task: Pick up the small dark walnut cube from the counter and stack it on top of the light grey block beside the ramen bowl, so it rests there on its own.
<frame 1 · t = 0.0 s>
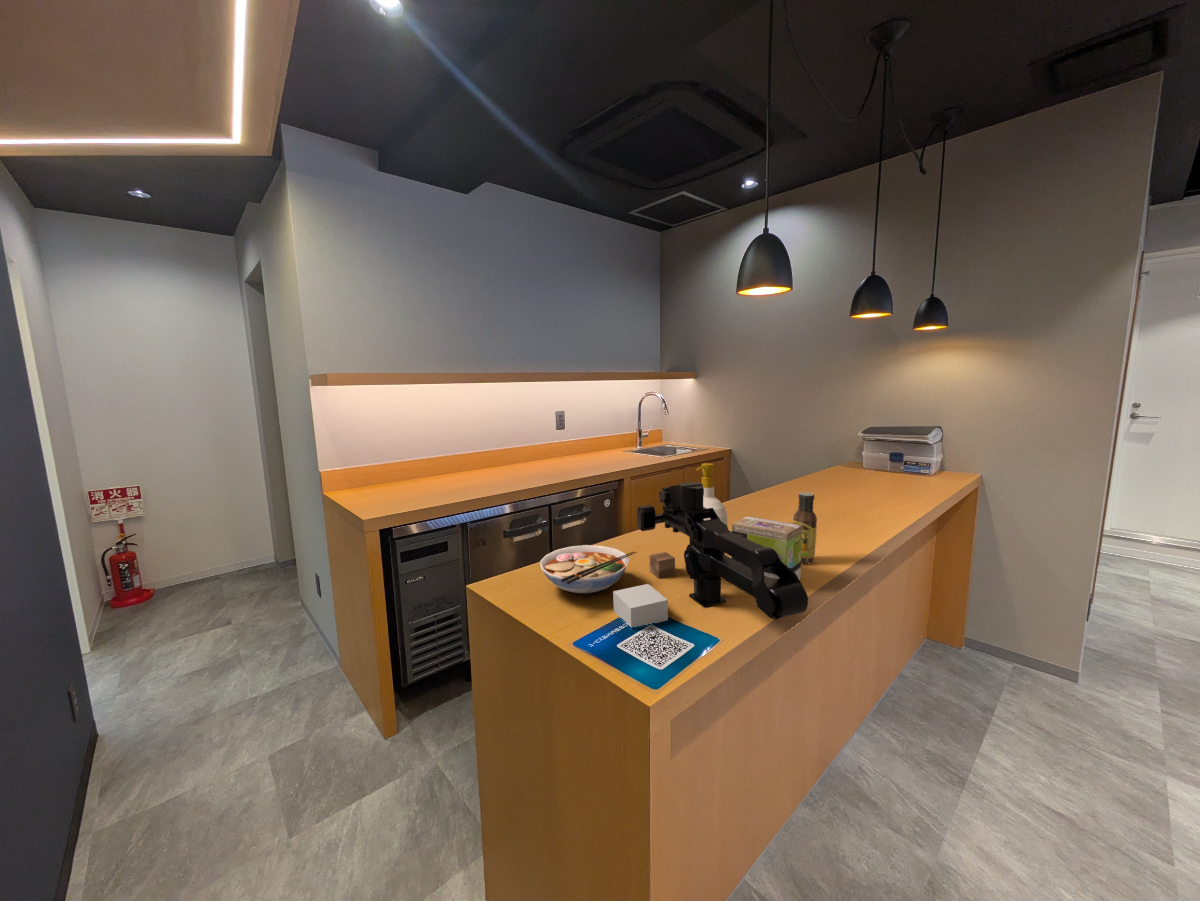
hand: (655, 507, 133), 17 cm above the table, tool horizontal, fingers open, 9 cm apart
sauce bottle: (802, 562, 133), on the table
soap bottle: (706, 544, 149), on the table
walnut cube: (662, 573, 128), on the table
tea box: (765, 578, 123), on the table
light grey block: (640, 616, 105), on the table
ramen bowl: (585, 588, 120), on the table
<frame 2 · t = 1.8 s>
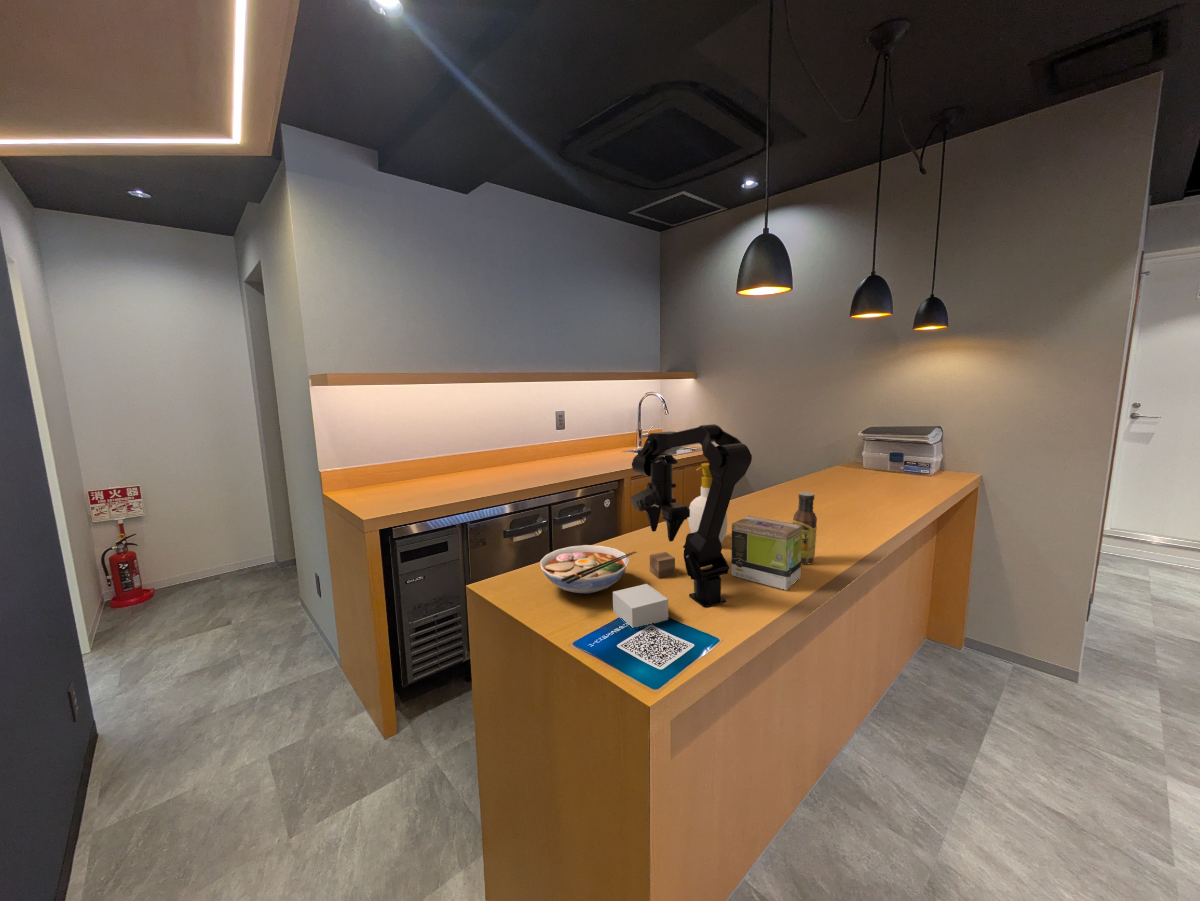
hand: (662, 536, 126), 11 cm above the table, tool pointing down, fingers open, 9 cm apart
nothing on the table moved.
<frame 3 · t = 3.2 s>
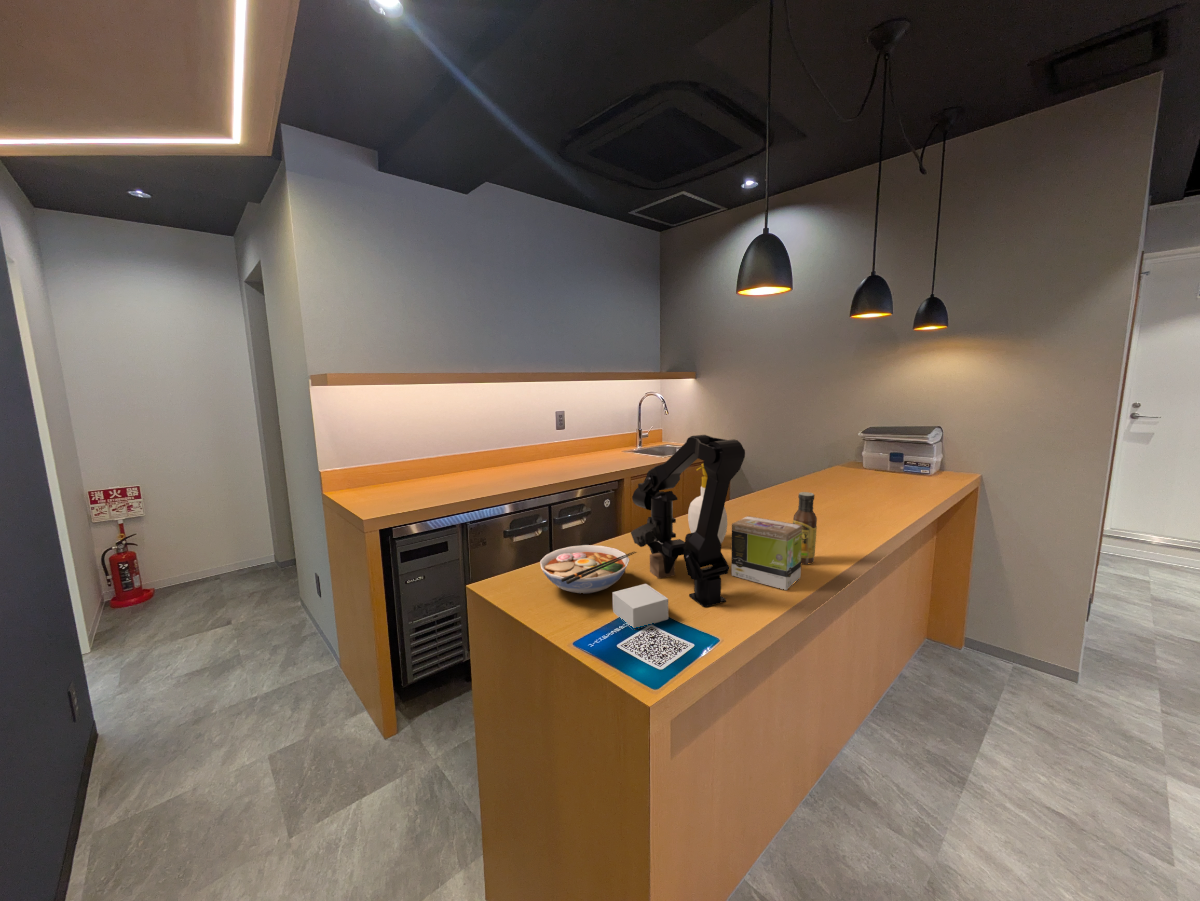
hand: (662, 569, 128), 1 cm above the table, tool pointing down, fingers closed on walnut cube, 5 cm apart
walnut cube: (662, 573, 128), on the table, touching gripper
everything else where it was.
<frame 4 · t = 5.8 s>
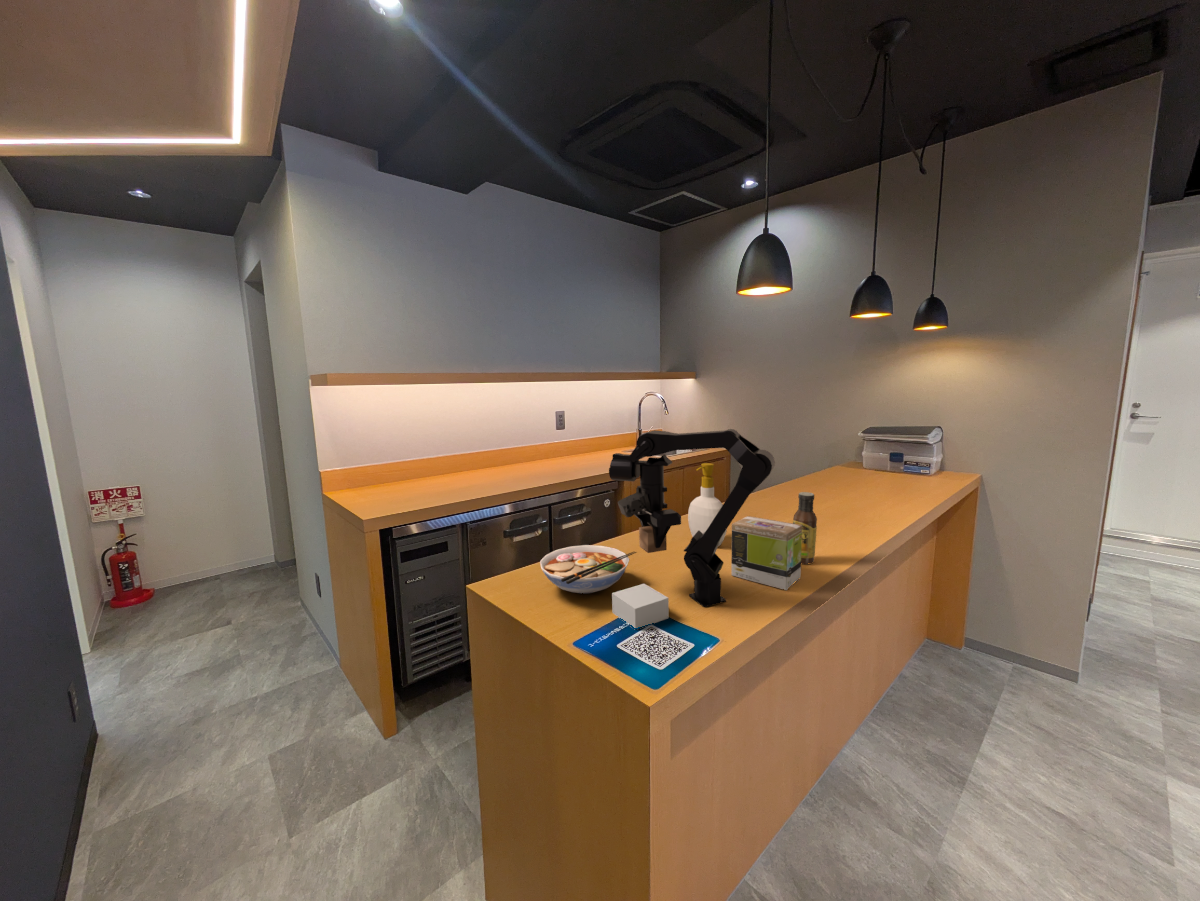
hand: (653, 544, 116), 12 cm above the table, tool pointing down, fingers closed on walnut cube, 5 cm apart
walnut cube: (652, 548, 116), point 11 cm above the table, touching gripper
everything else where it was.
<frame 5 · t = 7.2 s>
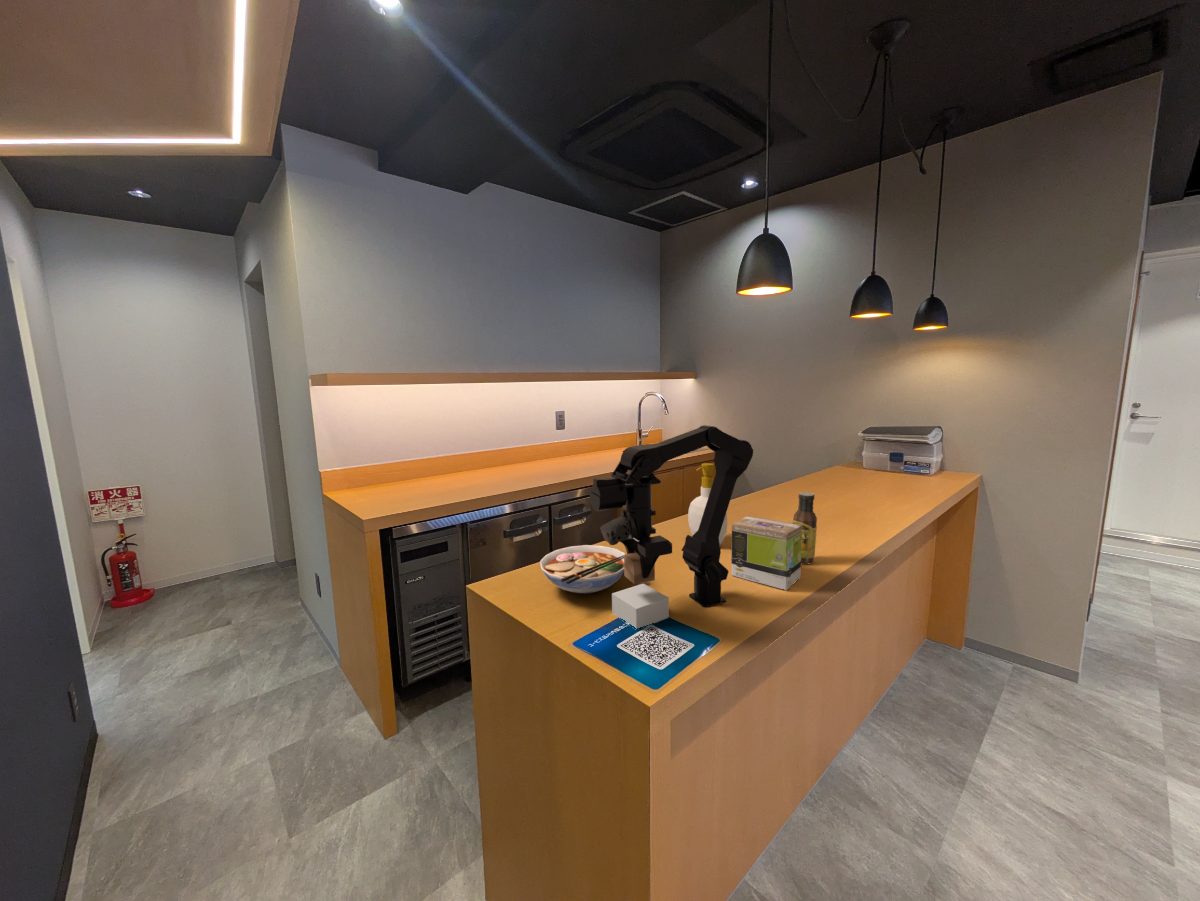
hand: (639, 573, 104), 10 cm above the table, tool pointing down, fingers closed on walnut cube, 5 cm apart
walnut cube: (639, 577, 104), point 9 cm above the table, touching gripper
everything else where it was.
when the fingers open (7 cm above the table, at t = 8.2 s): walnut cube drops 1 cm, resting on light grey block.
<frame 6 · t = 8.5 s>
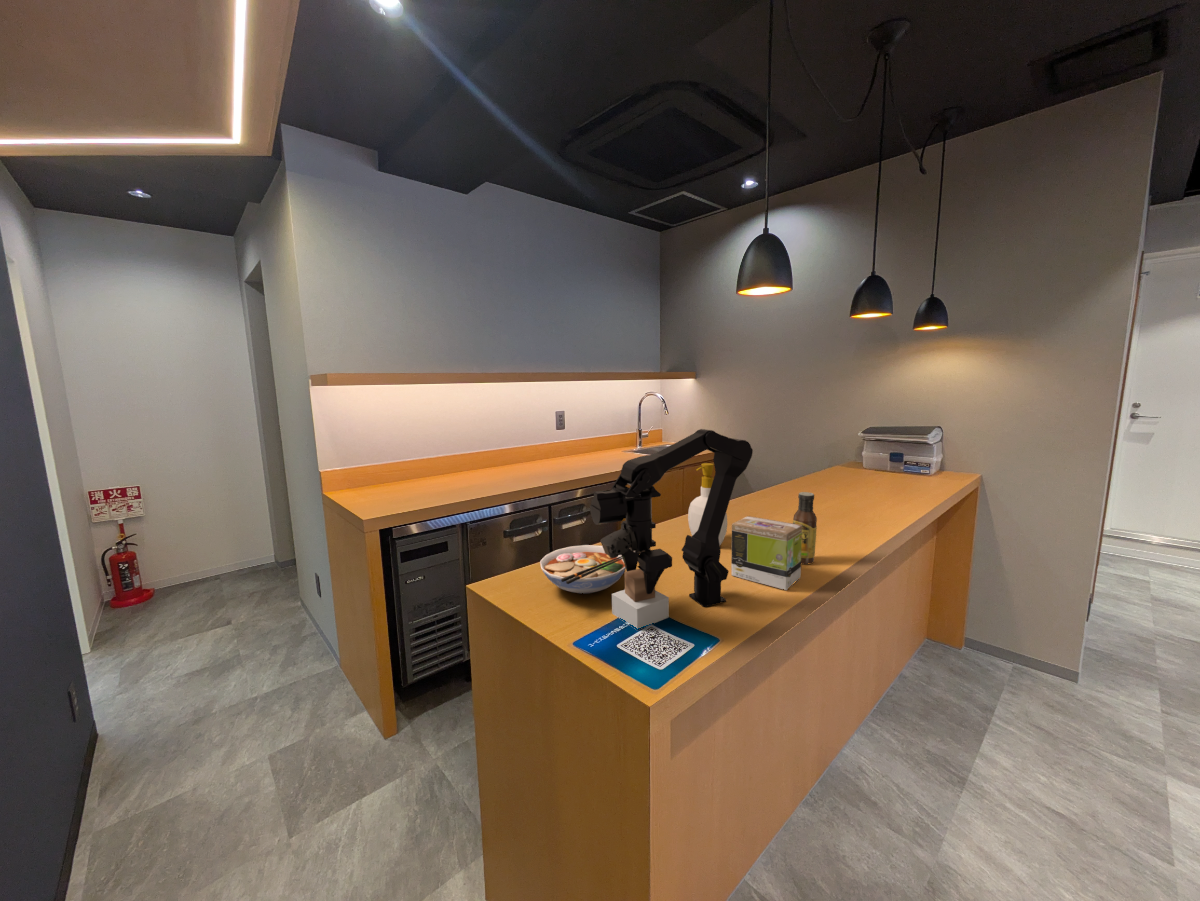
hand: (639, 585, 104), 7 cm above the table, tool pointing down, fingers open, 8 cm apart
walnut cube: (639, 595, 105), point 5 cm above the table, touching light grey block
light grey block: (640, 616, 105), on the table, touching walnut cube
everything else where it was.
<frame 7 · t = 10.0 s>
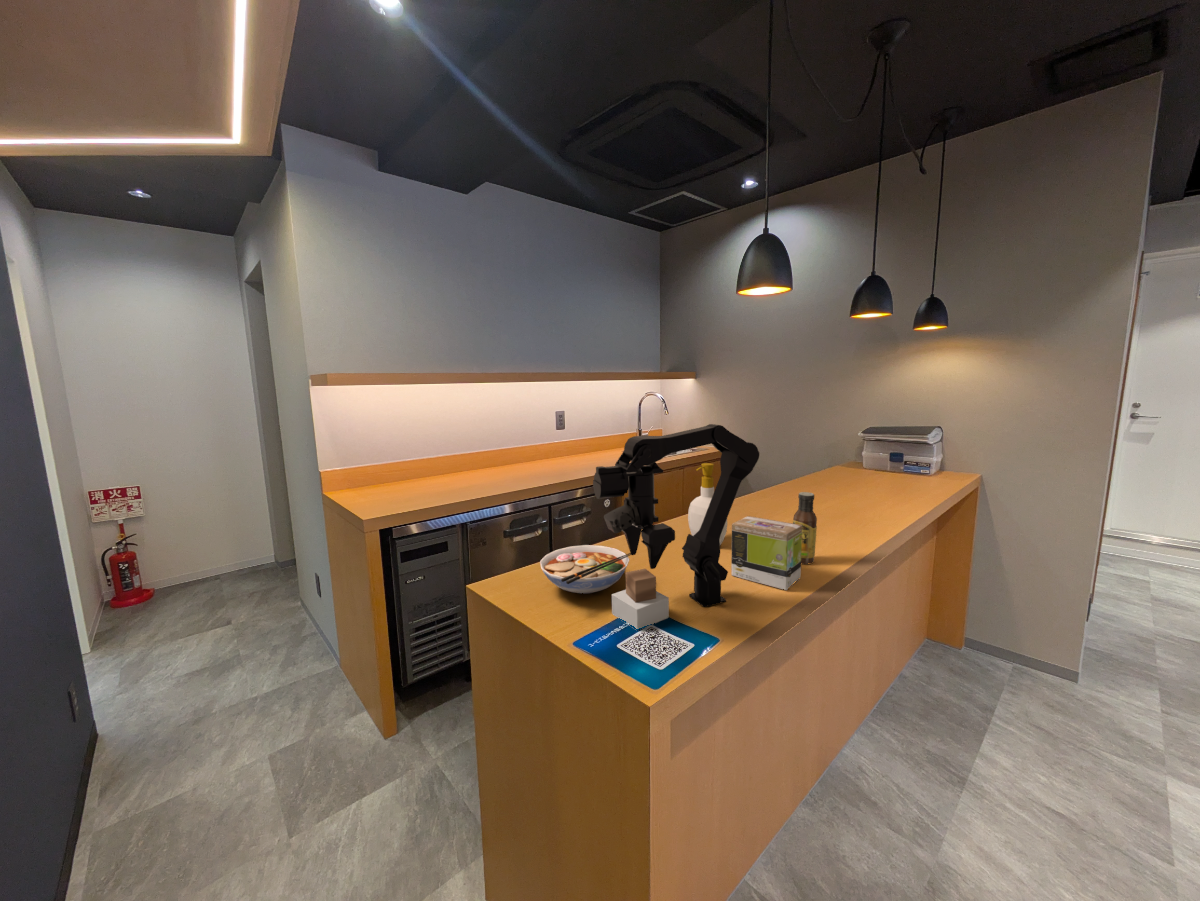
hand: (642, 561, 105), 12 cm above the table, tool pointing down, fingers open, 9 cm apart
walnut cube: (640, 595, 104), point 5 cm above the table
light grey block: (640, 616, 105), on the table
everything else where it was.
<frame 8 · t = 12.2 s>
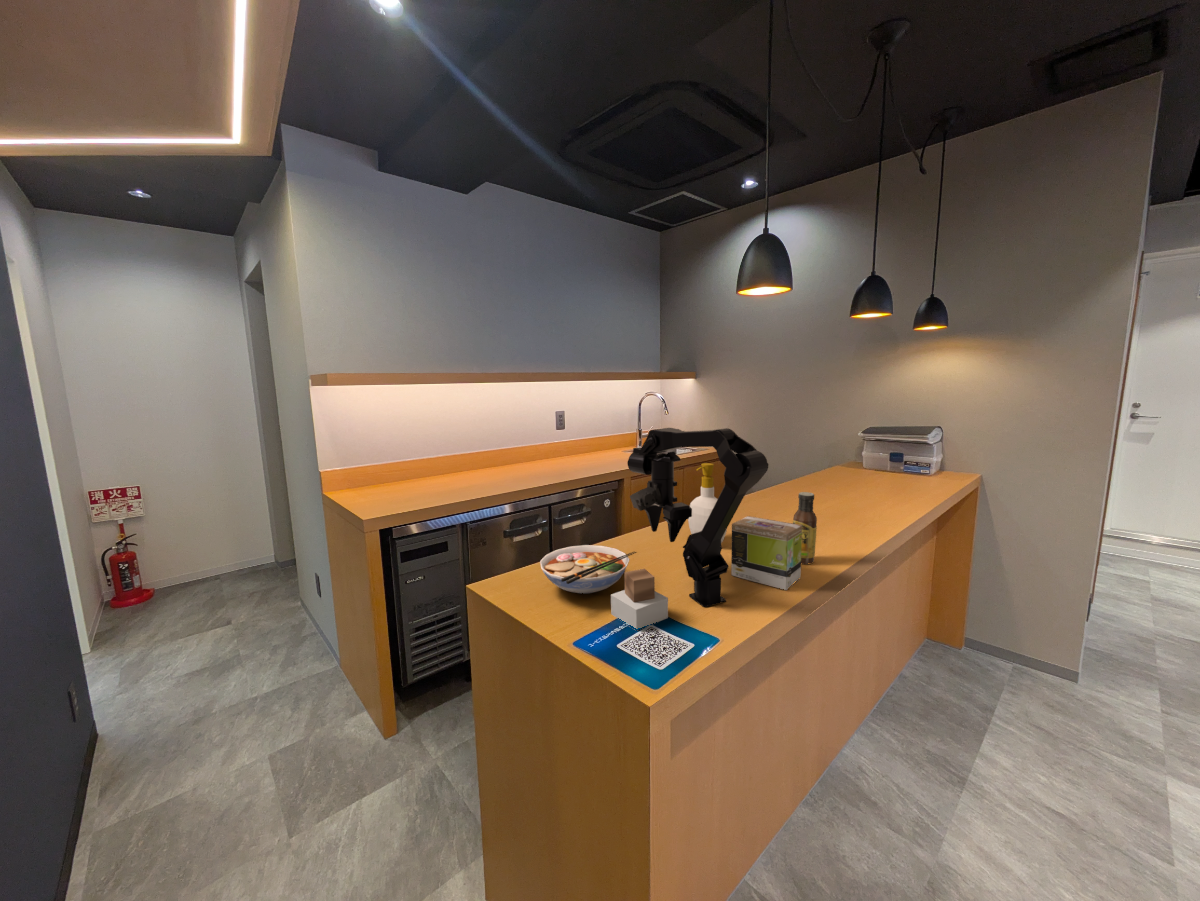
hand: (663, 536, 122), 12 cm above the table, tool pointing down, fingers open, 9 cm apart
walnut cube: (639, 595, 105), point 5 cm above the table, touching light grey block
light grey block: (639, 617, 105), on the table, touching walnut cube
everything else where it was.
at the end: walnut cube 0.3 cm off-centre on the light grey block, point 5.0 cm above the light grey block's base; walnut cube touching light grey block; the gripper is holding nothing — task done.
